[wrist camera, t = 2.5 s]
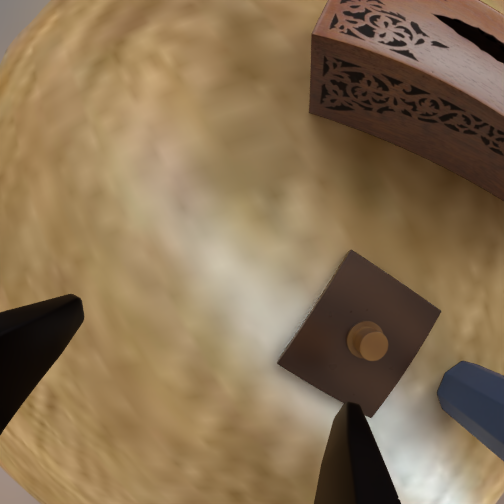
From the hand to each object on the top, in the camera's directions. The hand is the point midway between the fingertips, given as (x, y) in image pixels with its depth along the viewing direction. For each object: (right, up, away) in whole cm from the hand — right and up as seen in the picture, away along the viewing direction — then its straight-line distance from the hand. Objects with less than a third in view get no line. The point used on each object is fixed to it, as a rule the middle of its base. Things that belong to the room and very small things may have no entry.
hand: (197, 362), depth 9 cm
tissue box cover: (+21, +17, +15) cm, 31 cm away
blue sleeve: (+20, -8, +12) cm, 25 cm away
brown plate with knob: (+10, -3, +14) cm, 17 cm away
